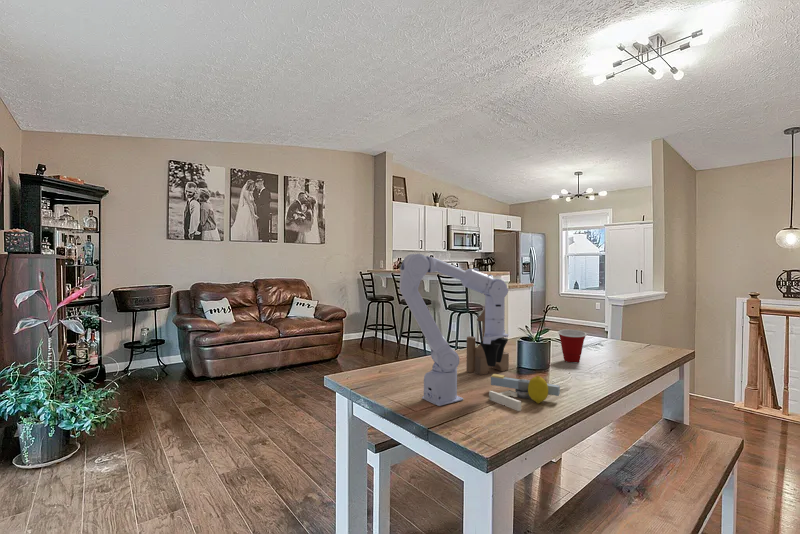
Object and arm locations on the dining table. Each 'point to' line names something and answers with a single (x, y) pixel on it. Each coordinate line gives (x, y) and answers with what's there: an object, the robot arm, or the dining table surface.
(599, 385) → the dining table surface
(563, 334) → the plastic cup
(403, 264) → the robot arm
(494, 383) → the lever
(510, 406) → the cream l-shaped bracket
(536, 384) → the lemon
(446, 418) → the dining table surface
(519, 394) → the base
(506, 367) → the wooden toy
